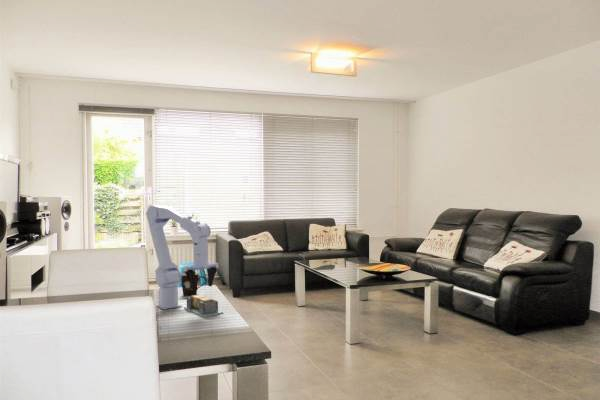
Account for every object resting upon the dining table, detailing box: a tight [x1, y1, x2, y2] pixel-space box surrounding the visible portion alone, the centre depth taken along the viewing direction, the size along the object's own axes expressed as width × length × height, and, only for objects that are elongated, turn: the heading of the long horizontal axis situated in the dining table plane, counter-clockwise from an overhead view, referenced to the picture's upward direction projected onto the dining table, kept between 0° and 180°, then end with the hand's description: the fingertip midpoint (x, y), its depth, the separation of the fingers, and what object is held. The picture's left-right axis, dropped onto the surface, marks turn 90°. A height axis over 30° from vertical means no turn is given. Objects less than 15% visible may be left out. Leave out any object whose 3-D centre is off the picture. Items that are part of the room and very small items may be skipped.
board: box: [183, 306, 224, 318], centre depth 189 cm, size 19×8×1 cm, turn 36°
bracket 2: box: [199, 299, 219, 315], centre depth 184 cm, size 4×6×4 cm, turn 126°
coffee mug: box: [180, 272, 207, 297], centre depth 225 cm, size 12×9×10 cm
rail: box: [190, 294, 215, 308], centre depth 189 cm, size 14×4×4 cm, turn 36°
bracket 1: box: [186, 296, 197, 309], centre depth 194 cm, size 4×6×4 cm, turn 126°
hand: (201, 287), depth 189 cm, fingers open, 7 cm apart
